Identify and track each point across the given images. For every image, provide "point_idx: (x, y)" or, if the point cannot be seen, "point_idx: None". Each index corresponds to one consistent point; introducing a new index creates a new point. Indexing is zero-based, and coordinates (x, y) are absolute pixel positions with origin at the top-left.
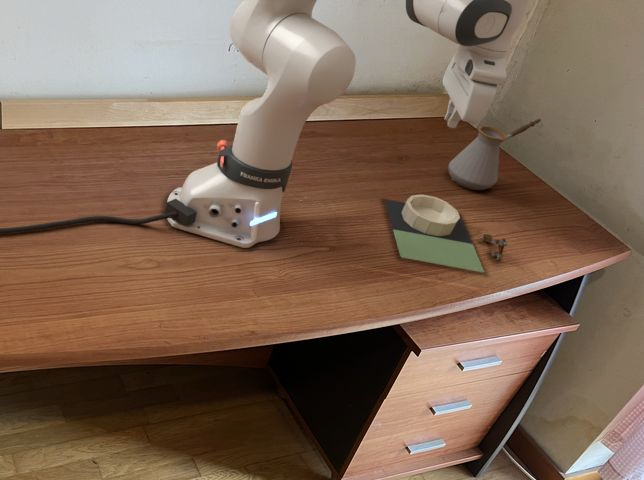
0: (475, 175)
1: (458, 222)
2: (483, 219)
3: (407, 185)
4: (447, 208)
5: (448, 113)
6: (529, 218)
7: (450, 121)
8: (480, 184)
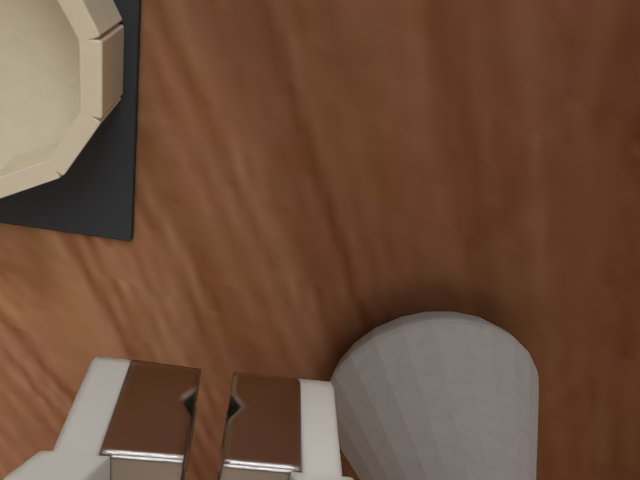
0: (349, 397)
1: (38, 204)
2: (133, 325)
3: (372, 67)
4: (29, 162)
5: (289, 476)
6: (198, 471)
7: (67, 422)
8: None
